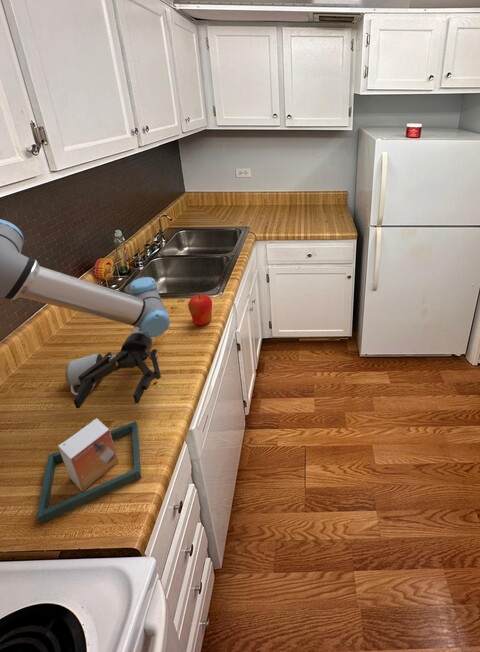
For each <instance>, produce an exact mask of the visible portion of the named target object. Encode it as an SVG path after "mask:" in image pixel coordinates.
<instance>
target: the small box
mask: <svg viewBox="0 0 480 652" xmlns="http://www.w3.org/2000/svg"><path fill="white" fill-rule="evenodd" d="M110 431H111V430H110V429H109V427H107V426H106V425H105V424H104V423H103V422H102V421H101V420H100V419H98V418H97V417H96V418H94V419H93V420H92V421H91V422H89V423H88V424H87V425H85V426H84V427H83V428H81V429H80V430H78V431H77V432H76V433H74V434H73V435H71V436H70V437H68V438H67V439H65V441H63V442H61V443H60V444H58V445H57V448H58V451H60V453H61V456H62V458H63V461H62V462H63V464H64V465H65V469H66V471H67V474H68V477H69V479H70V480H71V481H72V482H73V483H74V485H75V486H76V487H77V488H78V489H79V490H80V491H81V493H83V492H85V491H87V489H88V488H89V487H90V486H92V484H94V483H95V482H96V481H97V480H99V479H100V477H102V476H103V475H104V474H105V473H107V472H108V471H109V470H110V469H112V468H113V467H114V466H115V465H116V464H117V463H119V457H118V454H117V450H116V447H115V443H114V440H112V437H111V433H110Z"/></svg>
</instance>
